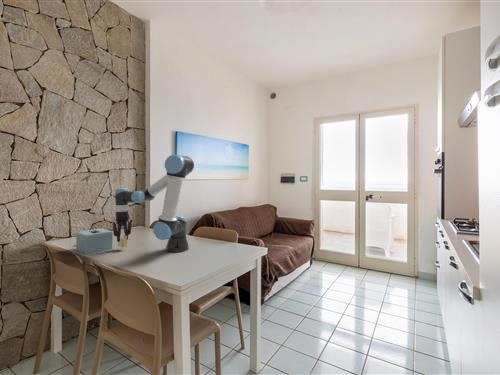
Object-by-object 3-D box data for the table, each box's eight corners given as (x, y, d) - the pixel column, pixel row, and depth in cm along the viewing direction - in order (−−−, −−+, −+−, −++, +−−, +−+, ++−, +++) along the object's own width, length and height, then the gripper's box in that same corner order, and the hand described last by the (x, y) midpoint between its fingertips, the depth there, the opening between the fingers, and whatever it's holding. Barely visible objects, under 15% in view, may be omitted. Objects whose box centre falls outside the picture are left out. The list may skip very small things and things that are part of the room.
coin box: (112, 248, 178) (112, 231, 177) (86, 254, 165) (86, 235, 164) (101, 244, 187) (101, 228, 187) (76, 249, 174) (76, 231, 174)
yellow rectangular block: (127, 246, 175) (126, 237, 175) (122, 247, 173) (122, 238, 173) (122, 245, 179) (122, 236, 179) (118, 246, 176) (118, 237, 176)
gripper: (130, 209, 184) (131, 242, 184) (106, 212, 171) (107, 247, 172) (136, 210, 179) (137, 244, 180) (112, 212, 166) (113, 249, 167)
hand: (122, 245), depth 176 cm, fingers closed on yellow rectangular block, 3 cm apart
